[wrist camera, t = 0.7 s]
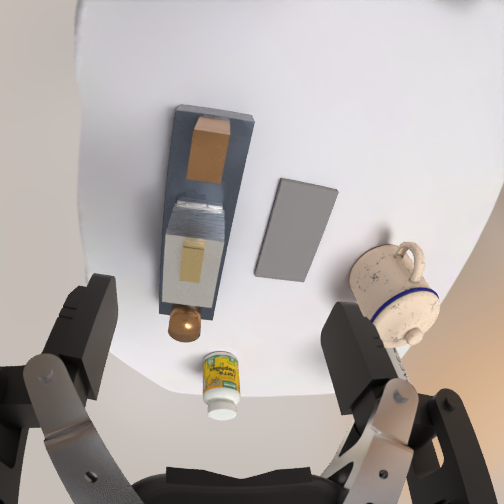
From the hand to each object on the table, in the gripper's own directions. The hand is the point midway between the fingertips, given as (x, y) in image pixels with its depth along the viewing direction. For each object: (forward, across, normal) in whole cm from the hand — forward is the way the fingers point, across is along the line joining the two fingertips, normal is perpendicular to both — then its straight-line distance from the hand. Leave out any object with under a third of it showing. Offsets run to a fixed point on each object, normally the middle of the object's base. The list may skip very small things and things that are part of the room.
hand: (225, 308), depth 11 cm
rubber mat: (+21, -9, +8) cm, 24 cm away
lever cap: (+17, +1, +8) cm, 19 cm away
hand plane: (+21, +1, +8) cm, 22 cm away
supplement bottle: (+22, -4, +32) cm, 39 cm away
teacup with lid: (+21, -22, +10) cm, 32 cm away
